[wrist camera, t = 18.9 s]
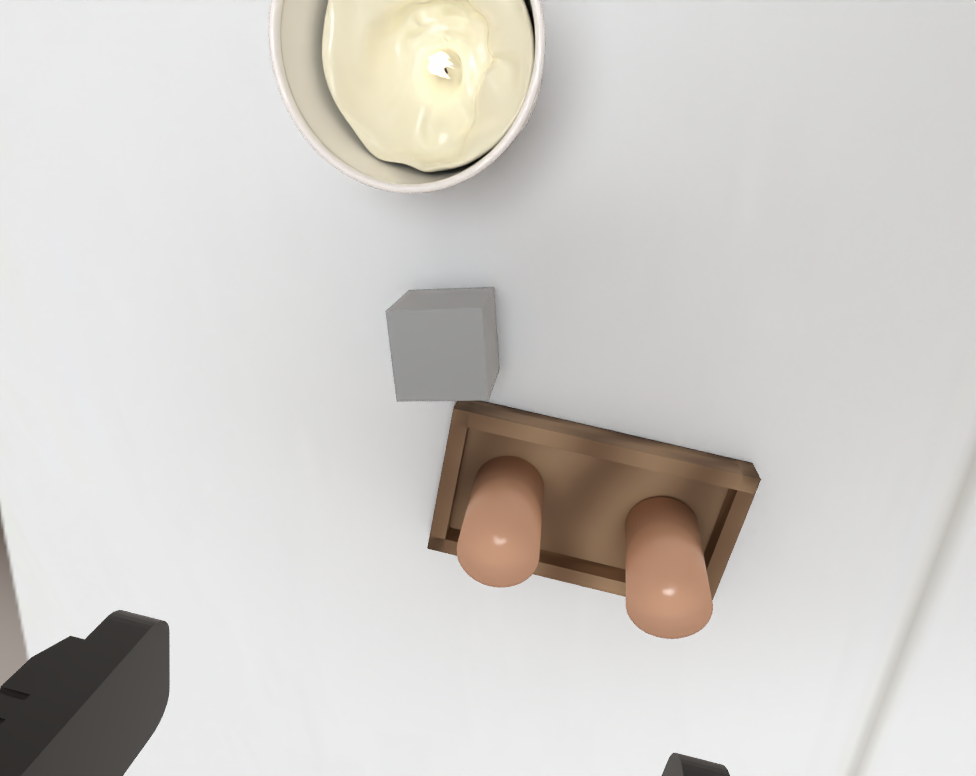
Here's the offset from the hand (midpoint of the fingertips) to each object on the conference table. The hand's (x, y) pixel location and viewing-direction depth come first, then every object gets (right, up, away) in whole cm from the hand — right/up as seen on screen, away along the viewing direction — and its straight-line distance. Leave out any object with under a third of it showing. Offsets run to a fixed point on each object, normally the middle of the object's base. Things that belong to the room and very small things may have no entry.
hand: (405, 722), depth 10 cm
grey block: (-1, +9, +29) cm, 30 cm away
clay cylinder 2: (+12, -3, +31) cm, 33 cm away
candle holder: (0, +21, +24) cm, 32 cm away
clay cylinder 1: (+3, -1, +31) cm, 31 cm away
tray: (+7, -2, +31) cm, 32 cm away
